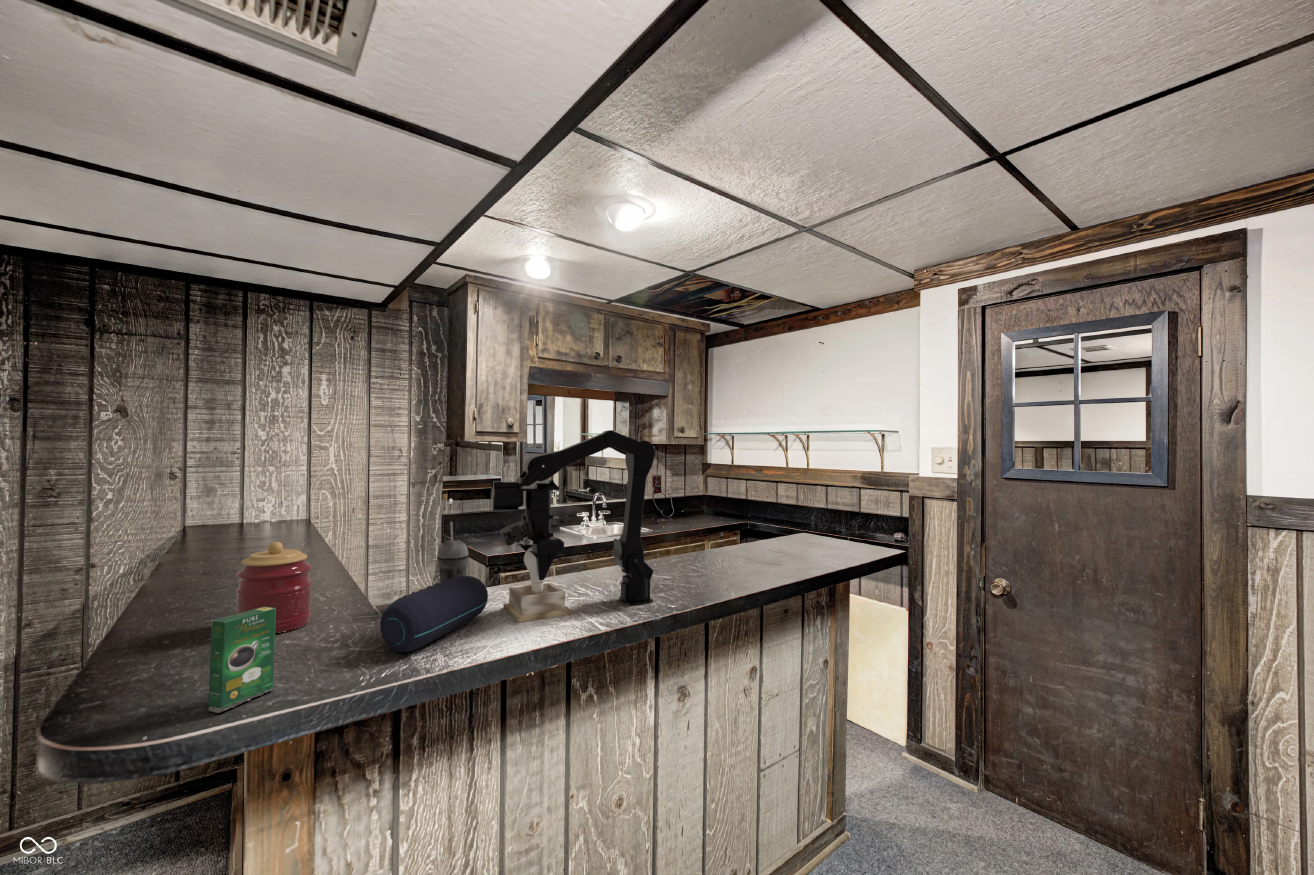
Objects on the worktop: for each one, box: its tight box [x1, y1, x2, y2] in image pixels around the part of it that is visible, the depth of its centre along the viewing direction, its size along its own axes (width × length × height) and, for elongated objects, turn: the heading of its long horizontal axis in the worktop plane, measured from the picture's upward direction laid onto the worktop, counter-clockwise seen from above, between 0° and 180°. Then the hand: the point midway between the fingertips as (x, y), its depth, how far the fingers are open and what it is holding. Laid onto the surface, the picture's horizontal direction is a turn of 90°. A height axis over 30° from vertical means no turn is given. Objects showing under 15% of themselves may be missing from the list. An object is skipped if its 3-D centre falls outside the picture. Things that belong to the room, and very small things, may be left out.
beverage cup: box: [436, 521, 470, 583], centre depth 130 cm, size 7×7×20 cm
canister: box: [235, 541, 313, 633], centre depth 114 cm, size 13×13×18 cm
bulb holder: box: [503, 581, 572, 623], centre depth 126 cm, size 12×12×5 cm
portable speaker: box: [379, 575, 489, 653], centre depth 110 cm, size 25×10×10 cm, turn 165°
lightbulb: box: [523, 547, 545, 593], centre depth 126 cm, size 6×6×11 cm
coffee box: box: [208, 607, 276, 708], centre depth 81 cm, size 8×3×13 cm, turn 163°
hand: (537, 577), depth 126 cm, fingers closed on lightbulb, 5 cm apart
